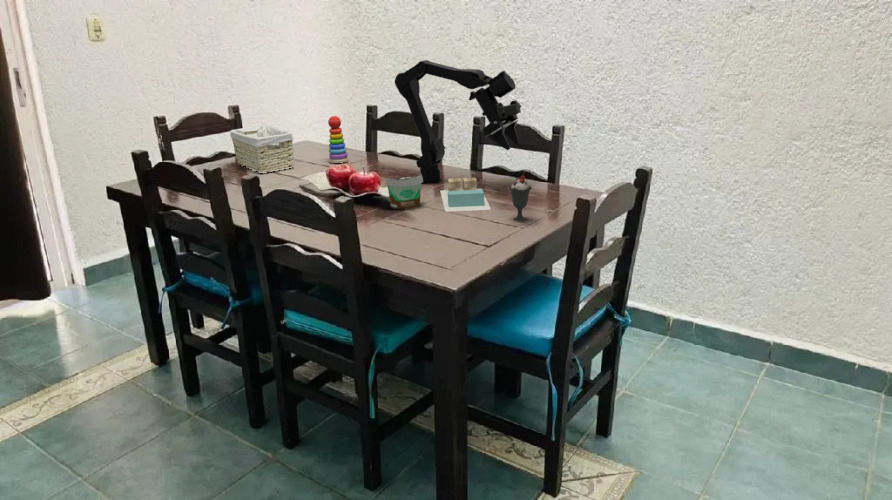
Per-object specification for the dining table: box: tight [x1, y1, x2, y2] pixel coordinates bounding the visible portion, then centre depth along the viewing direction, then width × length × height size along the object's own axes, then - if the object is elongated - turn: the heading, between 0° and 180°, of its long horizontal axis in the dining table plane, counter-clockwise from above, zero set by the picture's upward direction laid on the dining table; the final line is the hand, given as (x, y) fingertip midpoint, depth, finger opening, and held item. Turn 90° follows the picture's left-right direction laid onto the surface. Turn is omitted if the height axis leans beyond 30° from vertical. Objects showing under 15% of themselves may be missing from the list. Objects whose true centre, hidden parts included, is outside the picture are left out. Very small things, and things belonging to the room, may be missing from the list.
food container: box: [384, 172, 423, 210], centre depth 202 cm, size 12×6×10 cm, turn 117°
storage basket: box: [229, 124, 294, 172], centre depth 258 cm, size 24×16×15 cm
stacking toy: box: [327, 115, 350, 164], centre depth 262 cm, size 8×8×19 cm
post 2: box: [462, 177, 478, 191], centre depth 215 cm, size 4×4×5 cm
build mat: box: [440, 188, 492, 213], centre depth 210 cm, size 14×24×1 cm, turn 4°
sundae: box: [508, 171, 533, 224], centre depth 187 cm, size 7×7×15 cm
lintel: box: [448, 189, 485, 207], centre depth 204 cm, size 11×4×4 cm, turn 94°
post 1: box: [447, 177, 462, 191], centre depth 215 cm, size 4×4×5 cm
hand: (513, 146), depth 215 cm, fingers open, 9 cm apart
